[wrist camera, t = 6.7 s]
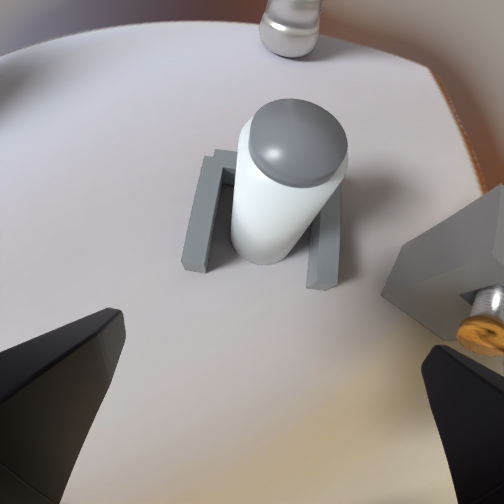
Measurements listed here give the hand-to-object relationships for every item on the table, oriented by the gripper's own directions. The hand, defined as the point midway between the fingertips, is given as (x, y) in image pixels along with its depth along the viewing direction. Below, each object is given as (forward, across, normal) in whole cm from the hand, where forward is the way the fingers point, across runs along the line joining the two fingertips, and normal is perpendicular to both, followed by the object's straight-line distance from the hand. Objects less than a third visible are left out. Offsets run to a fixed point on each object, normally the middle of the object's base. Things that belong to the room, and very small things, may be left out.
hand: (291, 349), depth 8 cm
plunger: (+8, +14, -1) cm, 16 cm away
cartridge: (+15, 0, -4) cm, 16 cm away
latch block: (+13, +15, -6) cm, 21 cm away
